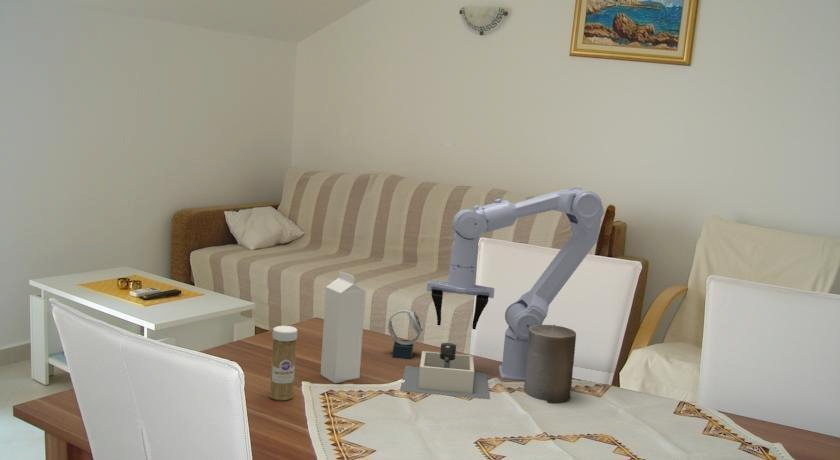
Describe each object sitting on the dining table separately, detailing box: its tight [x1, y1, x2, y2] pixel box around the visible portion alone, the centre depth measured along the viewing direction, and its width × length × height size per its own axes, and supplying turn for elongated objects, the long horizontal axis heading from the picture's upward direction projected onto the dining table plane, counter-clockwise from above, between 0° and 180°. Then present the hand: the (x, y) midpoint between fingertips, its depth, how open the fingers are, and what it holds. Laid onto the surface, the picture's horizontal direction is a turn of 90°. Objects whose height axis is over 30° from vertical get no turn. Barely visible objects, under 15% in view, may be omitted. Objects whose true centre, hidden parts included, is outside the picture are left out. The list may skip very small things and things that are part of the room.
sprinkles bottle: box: [269, 325, 298, 401], centre depth 139 cm, size 5×5×14 cm
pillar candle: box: [523, 324, 577, 403], centre depth 152 cm, size 10×10×15 cm
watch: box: [387, 308, 424, 360], centre depth 170 cm, size 6×8×11 cm
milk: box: [320, 270, 366, 384], centre depth 152 cm, size 6×6×22 cm
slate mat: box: [399, 365, 491, 400], centre depth 154 cm, size 18×16×1 cm
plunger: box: [439, 342, 457, 368], centre depth 154 cm, size 9×9×7 cm
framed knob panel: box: [418, 350, 475, 393], centre depth 154 cm, size 11×11×4 cm
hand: (456, 326), depth 161 cm, fingers open, 7 cm apart
